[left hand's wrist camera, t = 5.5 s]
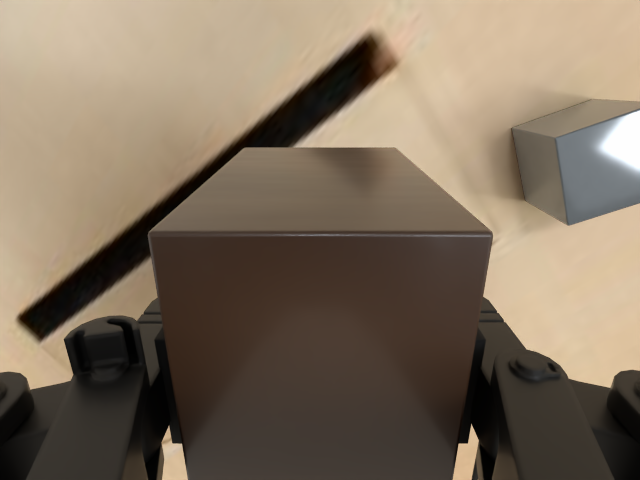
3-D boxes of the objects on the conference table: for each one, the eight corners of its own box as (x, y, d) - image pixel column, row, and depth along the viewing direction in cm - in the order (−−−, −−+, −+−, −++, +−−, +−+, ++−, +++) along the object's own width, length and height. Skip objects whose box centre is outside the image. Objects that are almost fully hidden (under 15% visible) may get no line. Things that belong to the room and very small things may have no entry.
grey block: (510, 127, 25) (554, 138, 20) (593, 98, 24) (658, 102, 20) (524, 201, 27) (568, 226, 22) (602, 175, 26) (664, 196, 21)
